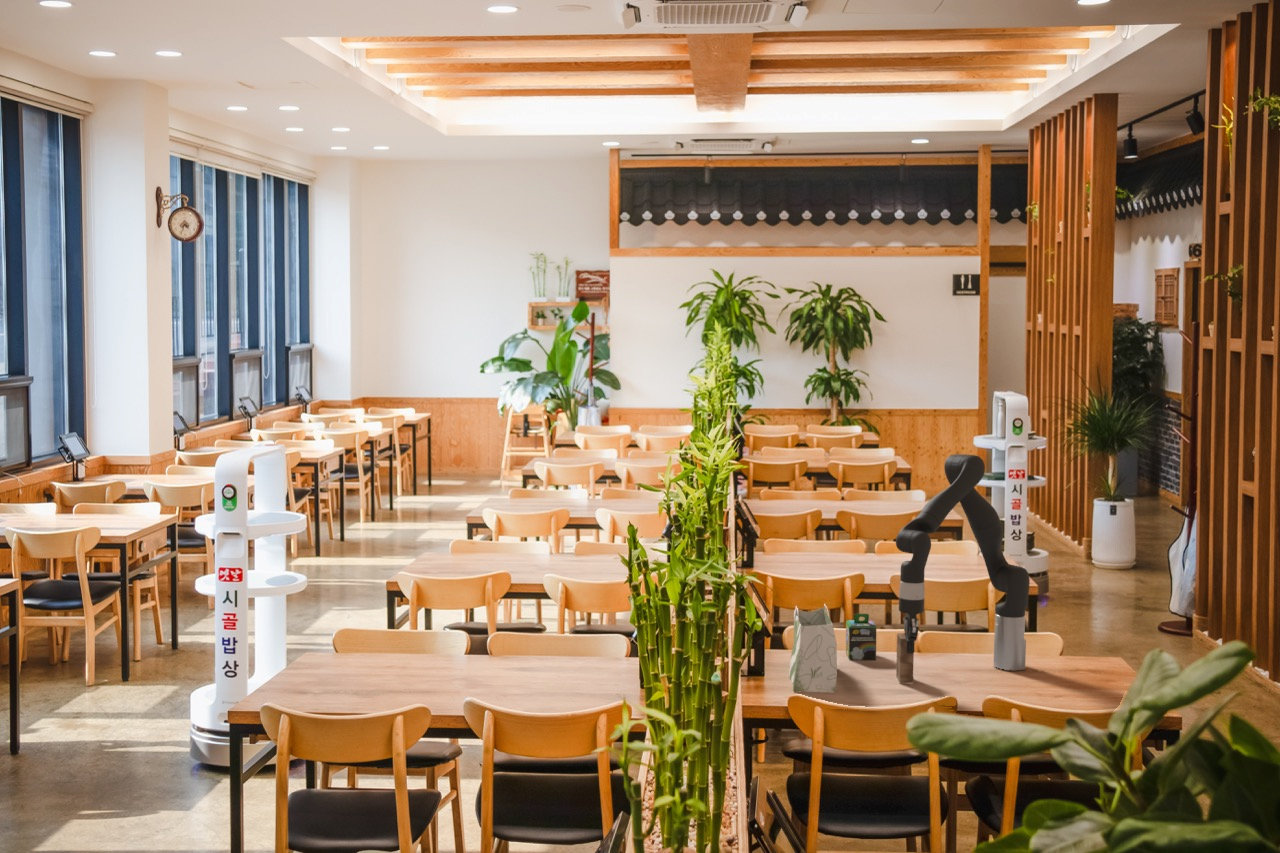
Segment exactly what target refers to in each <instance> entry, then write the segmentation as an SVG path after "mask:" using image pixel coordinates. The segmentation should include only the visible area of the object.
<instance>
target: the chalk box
mask: <svg viewBox="0 0 1280 853" xmlns="http://www.w3.org/2000/svg"><path fill="white" fill-rule="evenodd" d="M861 617H863V618H864V619H859V618H861ZM845 654H846V656H847V658H848V660H849V661H851V660H852V661H854V660H855V661H877V625H876V624H875V621H874V620H873V619H870V615H869V613H854V619H849V620H848V619H847V620H846V621H845Z"/></svg>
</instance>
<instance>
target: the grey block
mask: <svg viewBox="0 0 1280 853" xmlns="http://www.w3.org/2000/svg"><path fill="white" fill-rule="evenodd" d="M905 637H906V636H905V632H904V633H900V632H898V633H897V634H896V668H895V671H896V673H895V675H896V676H895V678H896V679H897V681H898V683H899V684H901V685H902V684H903V685H905V684H906V685H913V684H914V653H915V652H914V653H913V654H911V653H907V652H906V638H905Z"/></svg>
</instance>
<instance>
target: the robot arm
mask: <svg viewBox="0 0 1280 853" xmlns="http://www.w3.org/2000/svg"><path fill="white" fill-rule="evenodd" d="M943 465H944V468H943V469H944V474H945V477H946V480H947V481H948V484H949V486H948V487H946V488H945V489H943V490H942V491H940V492H939V493H938V494H936V495H935V496H933V497H932V498H930V500H928V501H927V503H926V504H925V505H924V507H923V508H922V509H921V510H920V512H919V513H918V515H917V516H916V517H914V518H913V519H912V520H910V521H909V522H908V523H907V524H906V525H904V526H903V527H902V528H901V529H900V530H899V531H898V533H897V534H896V537H895V546H896V548H897V550H899V551H900V552H902V553H906V554H911V555H912V557H911V560H906V561H903V562H902V563H901V565H900V580H899V581H900V582H899V589H898V611H899V612H900V613H903V614H905V616H903V627H904V629H903V631H904V633H905V636H906V637H905V638H906V652H907V653H911V654H913V653H915V642H917V640H918V634H919V630H920V627H919V622H920V621H919V618H918V617H917V616H918V615H919V614H923V613H924V612H925V598H926V597H925V596H926V595H925V591H926V590H925V589H926V588H925V569H926V566H927V563H928V558H929V555H930V552H931V548H932V539H931V537H930V536H929V535H930V534H933V533H935V532H936V531H937V530H938V529H939V528H940V527H941V525H942V523H943V522H944V520H945V519H946V518H947V516H948V515H949V514H950V513H951V511H952V510H953V509H954V508H955V507H956V506H957V505H958V504H959V503H960V506H961V508H962V510H963V512H964V514H965V516H966V518H967V522H968V524H969V526H970V527H969V528H970V529H971V531H972V534H973V536H974V538H975V540H976V543H977V545H978V547H979V549H980V552H981V554H982V557H983V560H984V563H985V566H986V570H987V574H988V578H989V579H990V580H989V581H990V582H991V585H992V587H993V588H994V589H995V590H997V591H998V592H1001V593H1005V594H1006V599H1005V601H1004V602H1001V603H997V604H996V605H995V610H994V614H995V615H994V642H993V643H994V645H993V646H994V647H993V667H994V666H995V667H994V668H996V667H997V668H996V669H998V668H1000V669H999V670H1002V669H1004V670H1003V671H1010V670H1011V671H1012V672H1013V671H1021V670H1022V671H1023V670H1026V654H1027V651H1026V650H1027V640H1026V638H1025V628H1026V627H1025V626H1026V611H1027V608H1028V604H1029V593H1030V584H1031V583H1030V575H1029V572H1028V570H1027V569H1026V568H1024V567H1023V566H1018V565H1014V564H1010V563H1009V562H1008V561H1007V559H1006V557H1005V556H1004V553H1003V550H1002V544H1003V539H1004V532H1005V531H1004V527H1003V524H1002V521H1001V519H1000V517H999V514H998V512H997V511H996V509H995V508H994V506H993V505H992V504H991V503H990V502H989V501H987V499H986V498H984V497H983V496H982V495H981V494H980V493H979V492H978V491H977V489H976V488H975V487H976V486H977V485H978V484H980V482H981V481H982V479H983V477H984V475H985V472H986V466H985V462H984V460H983V459H982V458H981V457H980V456H979V455H975V454H961V453H960V454H959V453H957V454H950V455H949V456H948V457H947V458H945V461H944V464H943Z"/></svg>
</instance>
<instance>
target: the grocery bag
mask: <svg viewBox="0 0 1280 853" xmlns="http://www.w3.org/2000/svg"><path fill="white" fill-rule="evenodd" d="M823 606H824V607H821V608H818V609H815V610H811V611H806V610H805V611H804V610H800V609H799V608H798V607H797V605H795V609H793V643H792V649H791V654H790V663H789V673H788V678H789V680H790V682H791V683H792V685H793V686H792V692H793V691H797V692H796V693H800V692H799V691H803V692H802V693H836V687H837V674H838V651H837V650H838V649H837V648H838V647H837V645H838V644H837V638H836V634H835V630H834V625H833V622H832V620H831V618H830V615H829V614H830V613H829V609H828V606H827V605H826V603H824V604H823Z"/></svg>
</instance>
